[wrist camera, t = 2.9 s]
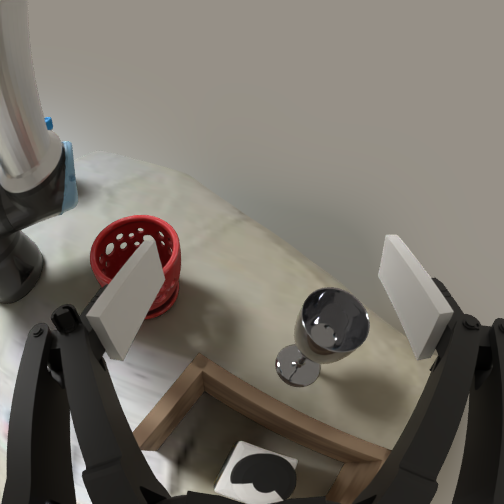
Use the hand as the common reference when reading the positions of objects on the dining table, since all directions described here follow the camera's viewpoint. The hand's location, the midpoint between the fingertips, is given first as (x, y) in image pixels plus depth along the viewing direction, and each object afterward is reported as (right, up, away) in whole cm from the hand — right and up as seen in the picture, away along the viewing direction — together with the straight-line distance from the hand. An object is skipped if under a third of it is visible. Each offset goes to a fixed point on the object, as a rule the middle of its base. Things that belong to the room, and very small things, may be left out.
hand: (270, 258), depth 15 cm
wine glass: (+6, -17, +23) cm, 29 cm away
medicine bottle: (-1, -28, +11) cm, 30 cm away
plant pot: (-19, -7, +28) cm, 34 cm away
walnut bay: (0, -27, +12) cm, 30 cm away
